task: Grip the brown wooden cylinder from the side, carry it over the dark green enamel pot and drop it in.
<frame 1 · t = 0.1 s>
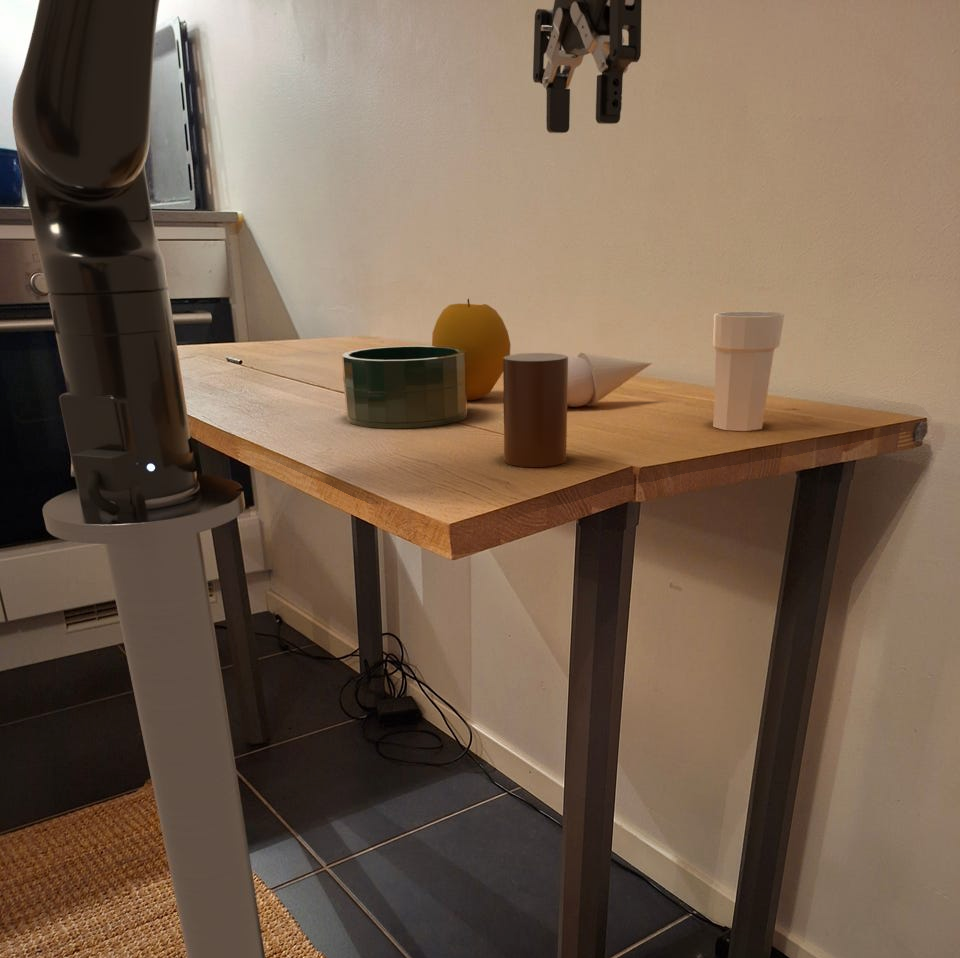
hand: (581, 128, 85), 28 cm above the table, tool pointing down, fingers open, 8 cm apart
cup: (737, 428, 94), on the table
apple: (471, 399, 114), on the table
ice cream cone: (592, 406, 107), on the table
brown wooden cylinder: (535, 460, 82), on the table
pot: (407, 416, 103), on the table
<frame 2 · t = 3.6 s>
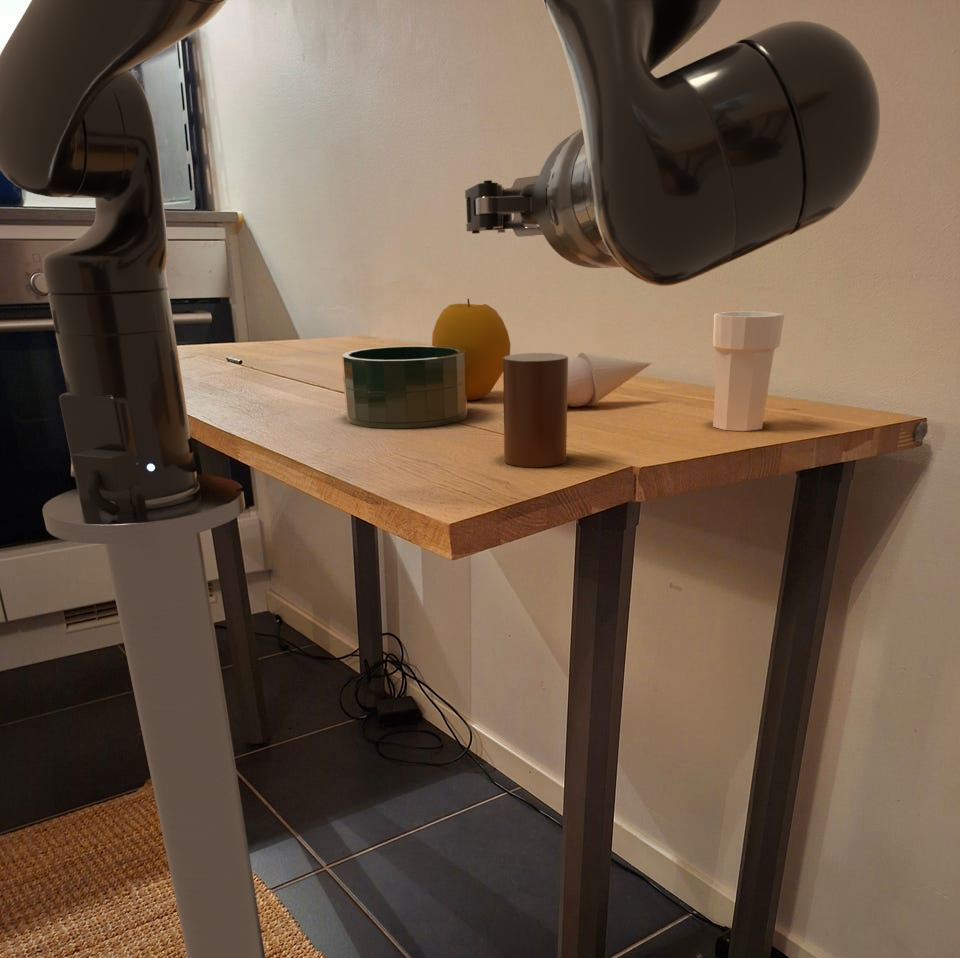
hand: (557, 211, 64), 20 cm above the table, tool horizontal, fingers open, 8 cm apart
nothing on the table moved.
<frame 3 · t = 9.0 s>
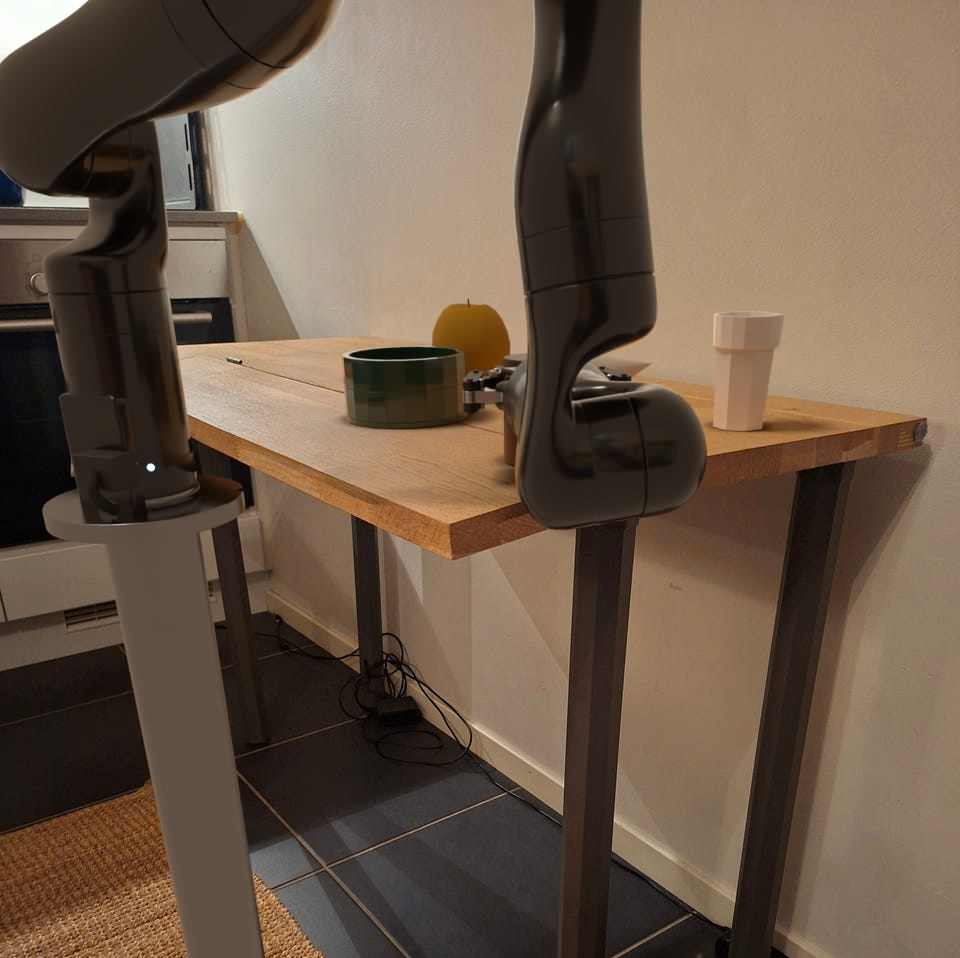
hand: (531, 376, 81), 7 cm above the table, tool horizontal, fingers closed on brown wooden cylinder, 5 cm apart
brown wooden cylinder: (534, 460, 82), on the table, touching gripper
everything else where it was.
when the fingers open (12 cm above the table, at t = 36.9 s): brown wooden cylinder drops 4 cm, resting on pot.
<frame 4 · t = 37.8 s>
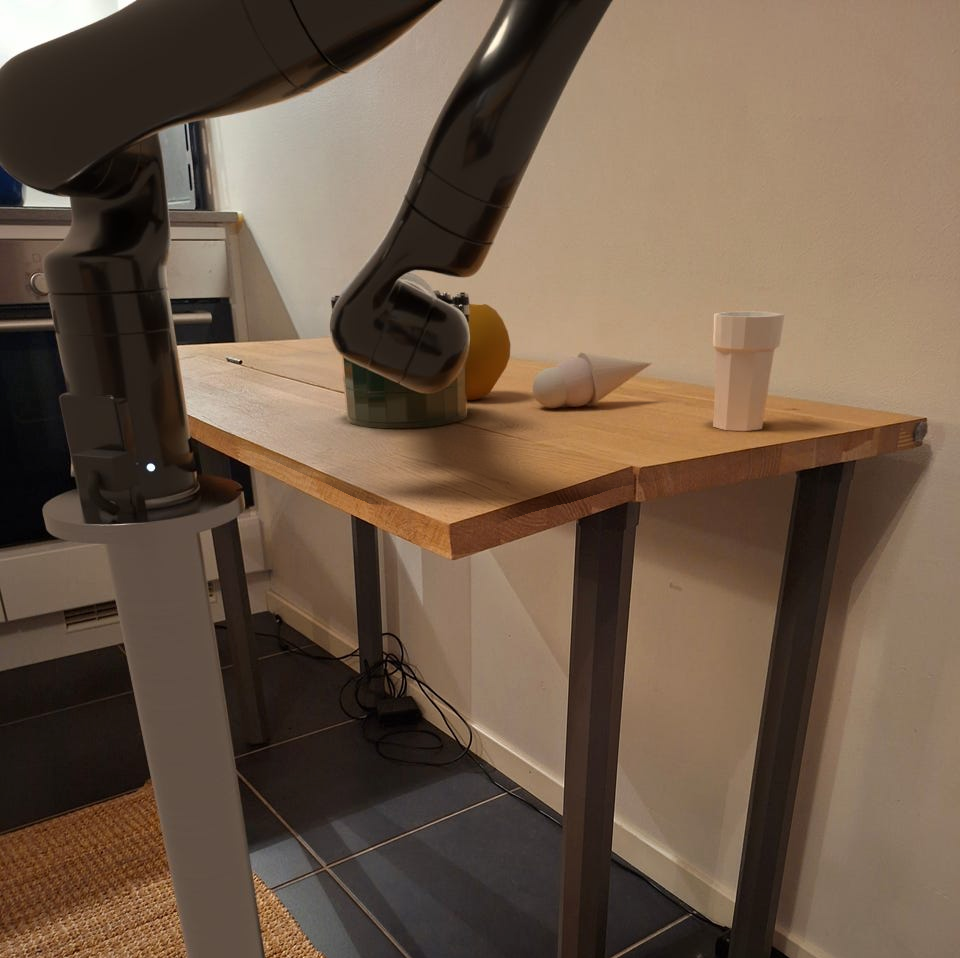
hand: (400, 304, 99), 12 cm above the table, tool horizontal, fingers open, 8 cm apart
brown wooden cylinder: (407, 411, 102), point 1 cm above the table, touching pot
everything else where it was.
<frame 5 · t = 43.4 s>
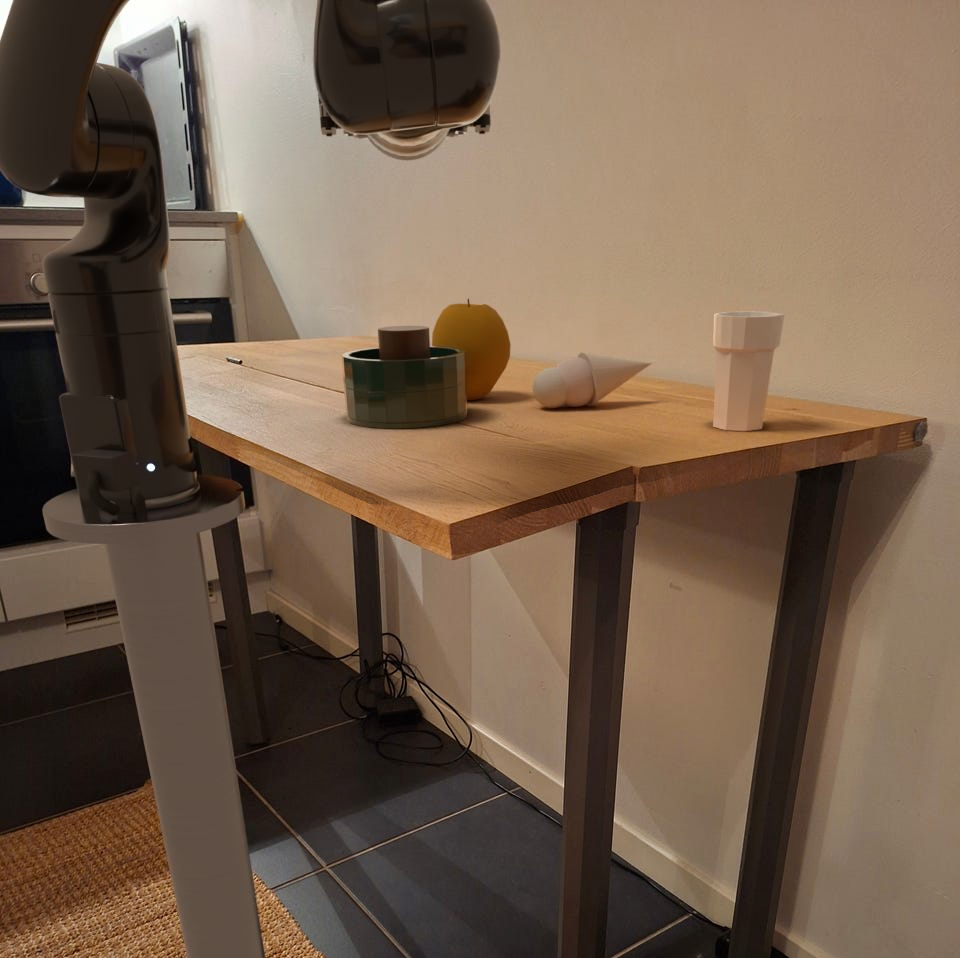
hand: (405, 123, 81), 28 cm above the table, tool horizontal, fingers open, 8 cm apart
nothing on the table moved.
at the end: brown wooden cylinder inside the target area in the pot (0.1 cm from its centre), point 0.6 cm above the pot's base; the gripper is holding nothing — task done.
